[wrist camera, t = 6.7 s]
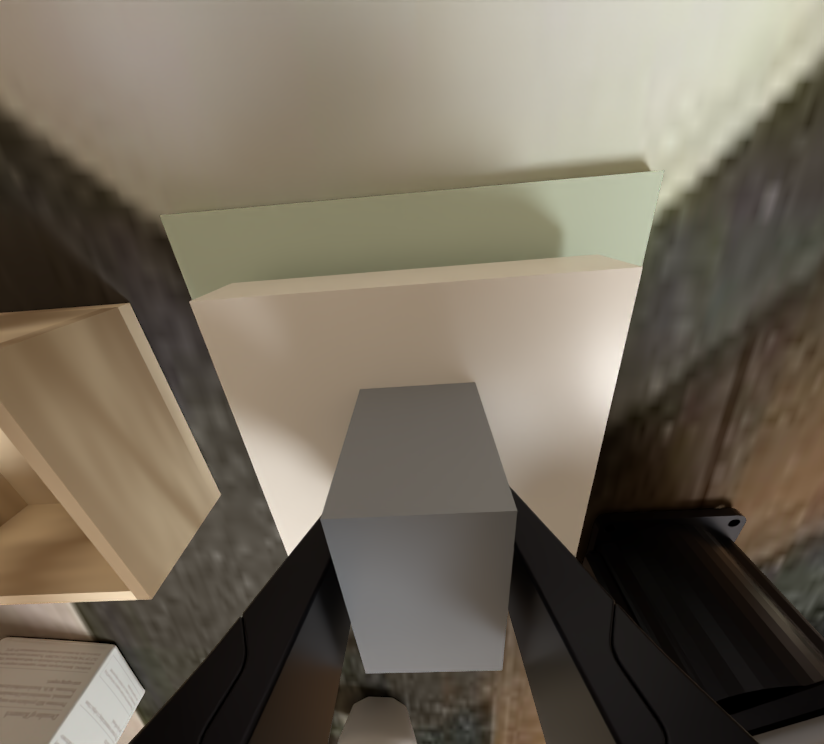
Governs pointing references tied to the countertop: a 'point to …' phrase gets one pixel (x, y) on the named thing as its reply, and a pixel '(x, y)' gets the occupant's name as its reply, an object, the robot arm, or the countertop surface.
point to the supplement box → (64, 692)
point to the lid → (425, 430)
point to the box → (91, 460)
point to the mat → (417, 230)
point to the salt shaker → (378, 723)
